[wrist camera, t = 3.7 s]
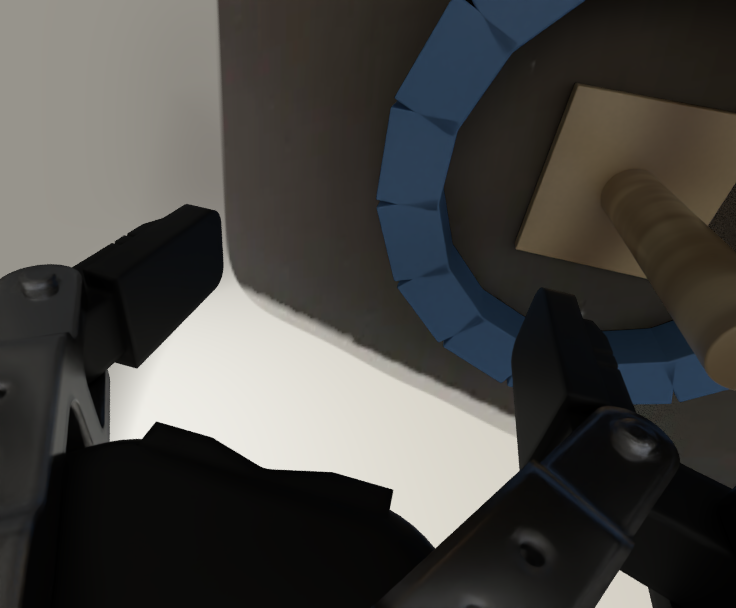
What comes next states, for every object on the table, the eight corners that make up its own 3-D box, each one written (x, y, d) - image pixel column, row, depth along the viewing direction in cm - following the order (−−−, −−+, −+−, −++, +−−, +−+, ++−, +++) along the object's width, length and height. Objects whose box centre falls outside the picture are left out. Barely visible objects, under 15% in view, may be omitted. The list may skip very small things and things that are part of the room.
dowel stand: (514, 243, 24) (540, 421, 13) (574, 82, 19) (685, 162, 9) (665, 277, 23) (816, 493, 13) (765, 118, 19) (1132, 251, 8)
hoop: (363, 318, 29) (351, 346, 26) (449, -187, 16) (444, -224, 13) (726, 408, 27) (751, 448, 24) (1181, -89, 14) (1335, -112, 11)
